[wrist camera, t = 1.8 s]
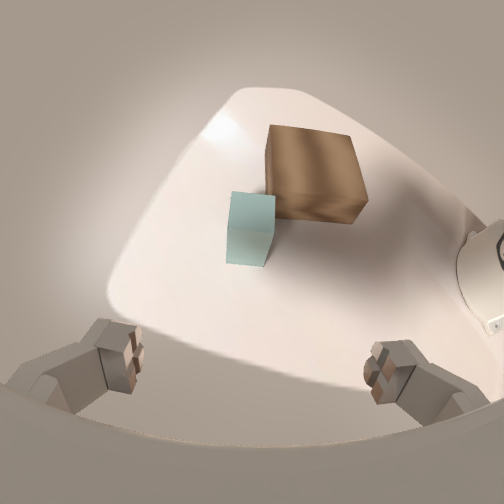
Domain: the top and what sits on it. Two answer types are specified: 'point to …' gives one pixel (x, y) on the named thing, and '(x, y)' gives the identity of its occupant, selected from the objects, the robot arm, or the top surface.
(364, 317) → the top surface
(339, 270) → the top surface
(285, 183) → the walnut block
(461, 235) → the top surface
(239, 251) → the tea tin
